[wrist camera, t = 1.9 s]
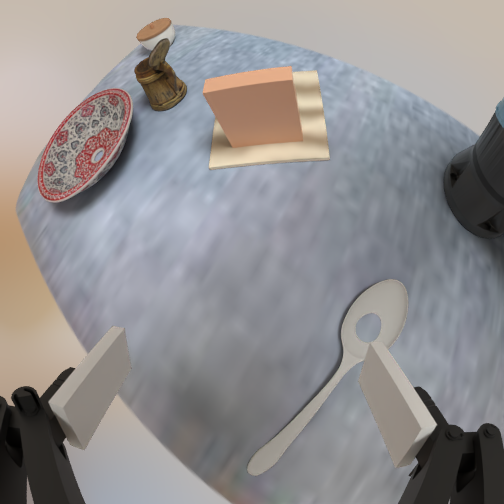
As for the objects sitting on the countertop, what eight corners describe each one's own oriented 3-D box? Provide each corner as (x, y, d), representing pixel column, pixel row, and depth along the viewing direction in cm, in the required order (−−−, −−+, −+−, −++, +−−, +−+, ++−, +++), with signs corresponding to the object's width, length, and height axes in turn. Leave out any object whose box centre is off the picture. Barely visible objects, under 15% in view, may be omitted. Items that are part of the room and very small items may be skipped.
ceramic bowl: (132, 91, 61) (116, 72, 54) (170, 152, 51) (149, 129, 44) (54, 161, 63) (35, 148, 55) (69, 241, 53) (42, 230, 46)
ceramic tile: (303, 141, 44) (292, 79, 31) (232, 147, 47) (202, 93, 34) (302, 126, 45) (291, 65, 32) (233, 133, 48) (205, 78, 35)
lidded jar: (143, 52, 67) (129, 32, 58) (171, 32, 66) (159, 12, 58) (155, 60, 63) (140, 38, 54) (186, 39, 63) (173, 16, 54)
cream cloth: (329, 160, 43) (329, 157, 42) (210, 170, 48) (208, 167, 47) (316, 73, 49) (316, 70, 48) (221, 84, 53) (220, 82, 53)
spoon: (373, 269, 38) (376, 265, 35) (418, 298, 35) (423, 296, 33) (235, 453, 37) (229, 459, 34) (274, 479, 34) (270, 487, 31)
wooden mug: (185, 118, 53) (142, 57, 36) (145, 108, 57) (103, 58, 40) (209, 88, 54) (176, 26, 37) (168, 82, 58) (132, 30, 41)
